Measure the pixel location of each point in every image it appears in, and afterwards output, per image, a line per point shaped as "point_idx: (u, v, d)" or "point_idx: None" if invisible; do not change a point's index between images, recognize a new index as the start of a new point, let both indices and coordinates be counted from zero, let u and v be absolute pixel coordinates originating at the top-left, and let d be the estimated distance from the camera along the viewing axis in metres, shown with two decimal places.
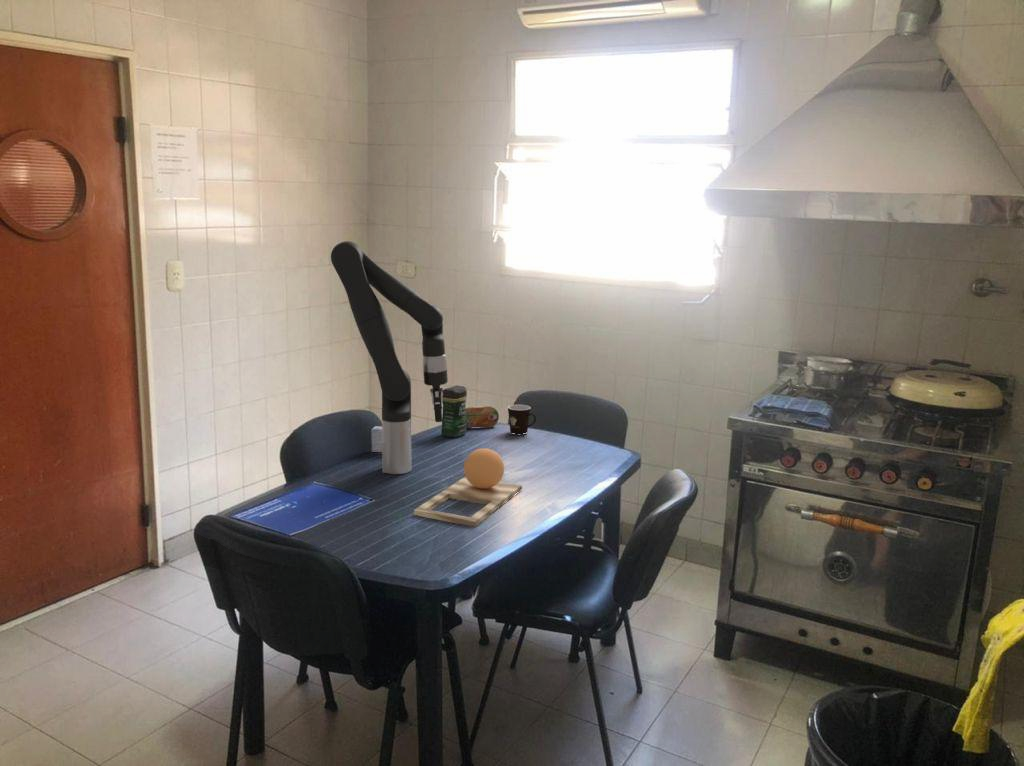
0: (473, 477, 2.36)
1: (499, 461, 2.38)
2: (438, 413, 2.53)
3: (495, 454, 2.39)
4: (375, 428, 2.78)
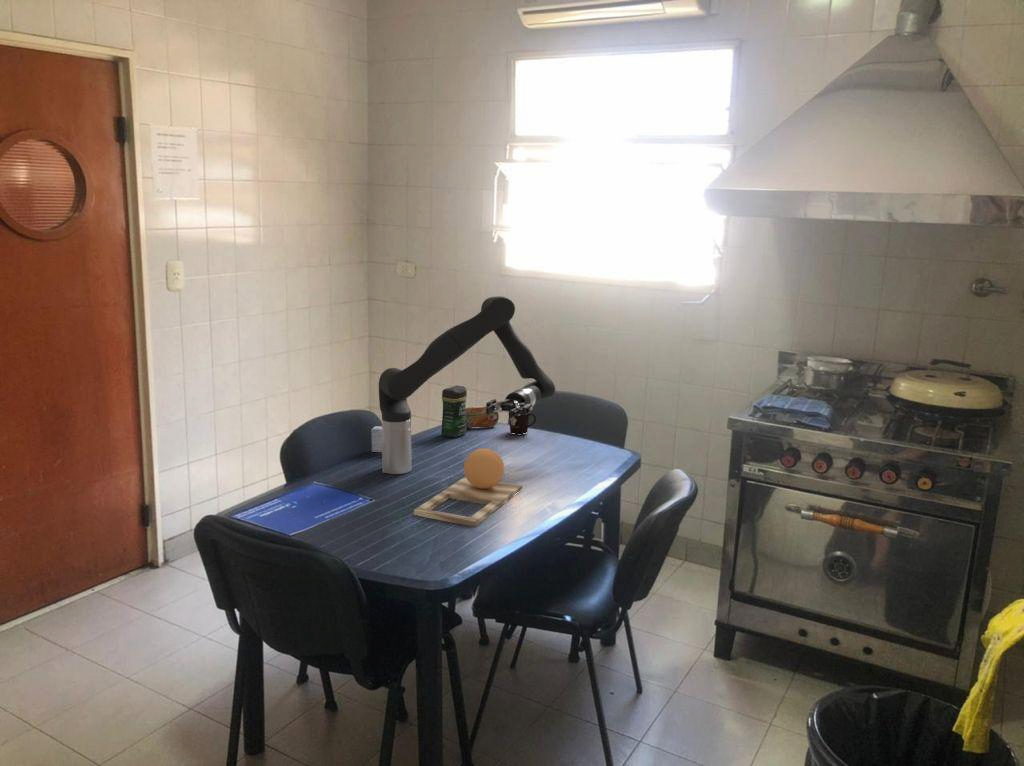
0: (473, 477, 2.36)
1: (499, 461, 2.38)
2: (517, 412, 2.48)
3: (495, 454, 2.39)
4: (375, 428, 2.78)
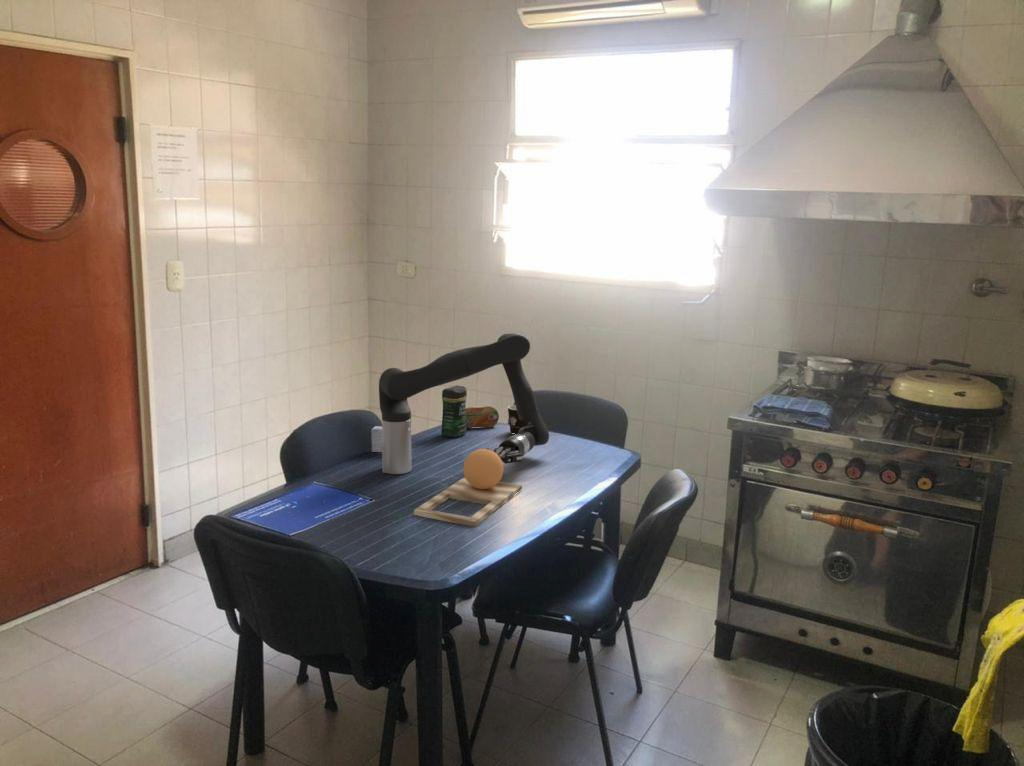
0: (473, 479, 2.36)
1: (498, 462, 2.37)
2: None
3: (494, 455, 2.38)
4: (375, 428, 2.78)
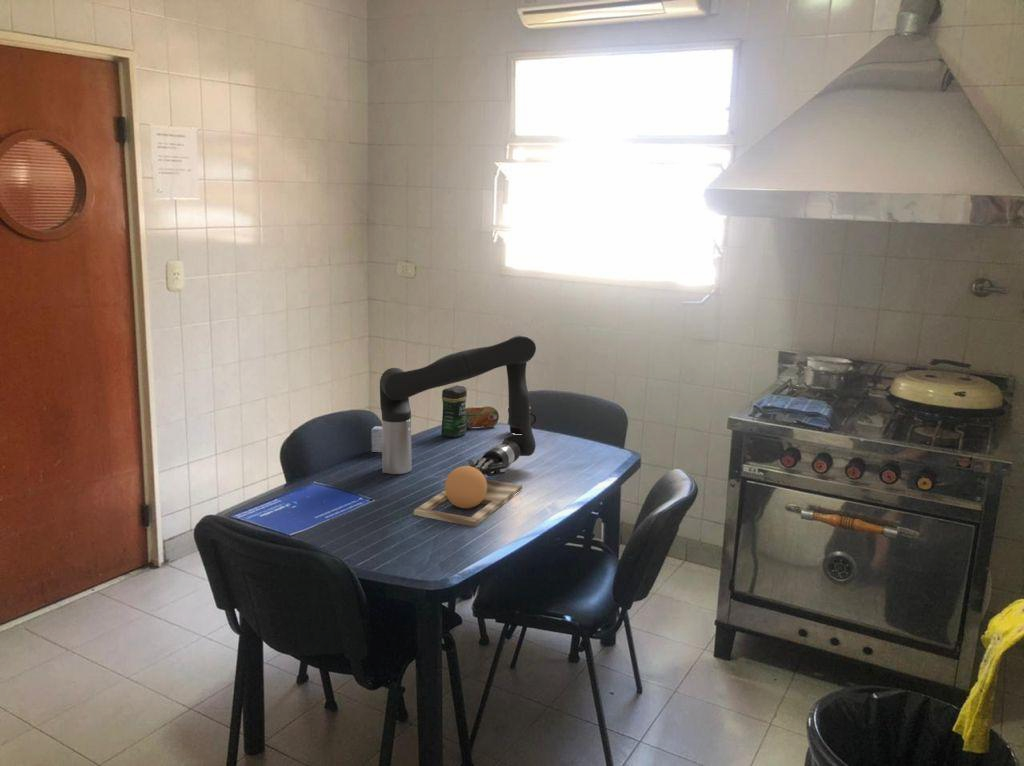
0: None
1: (479, 499, 2.26)
2: (482, 473, 2.37)
3: (471, 502, 2.25)
4: (375, 428, 2.78)
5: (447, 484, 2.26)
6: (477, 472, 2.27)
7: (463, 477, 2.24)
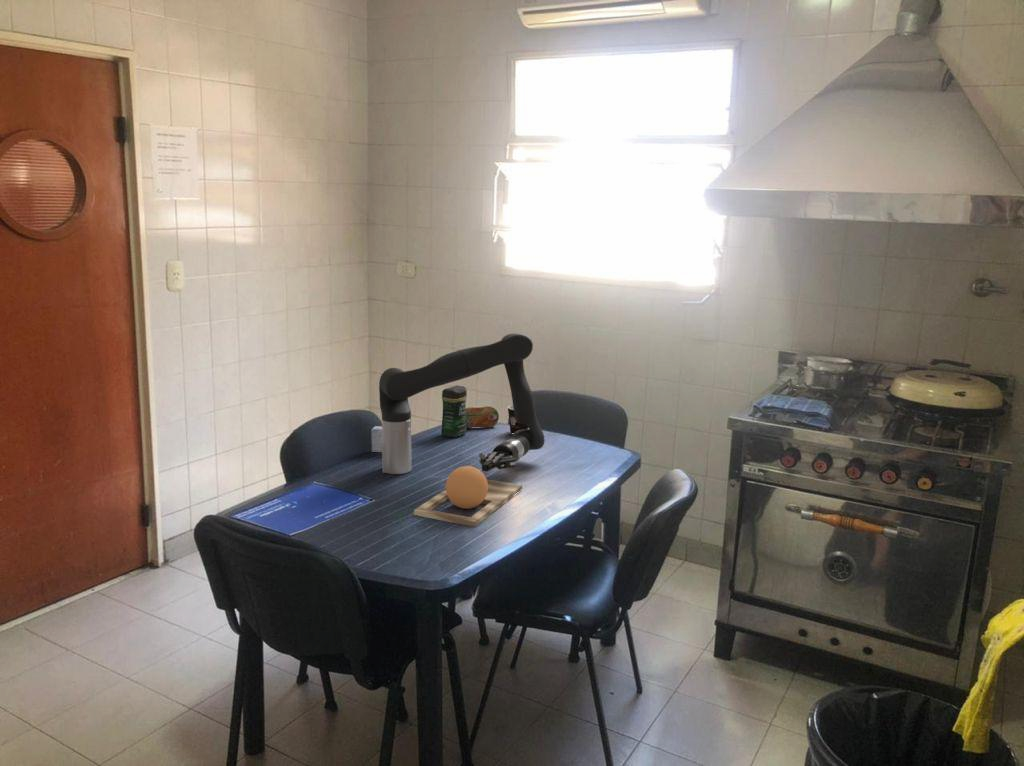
0: None
1: (479, 500, 2.26)
2: (492, 466, 2.43)
3: (471, 503, 2.25)
4: (375, 428, 2.78)
5: (448, 484, 2.26)
6: (478, 473, 2.27)
7: (463, 478, 2.24)
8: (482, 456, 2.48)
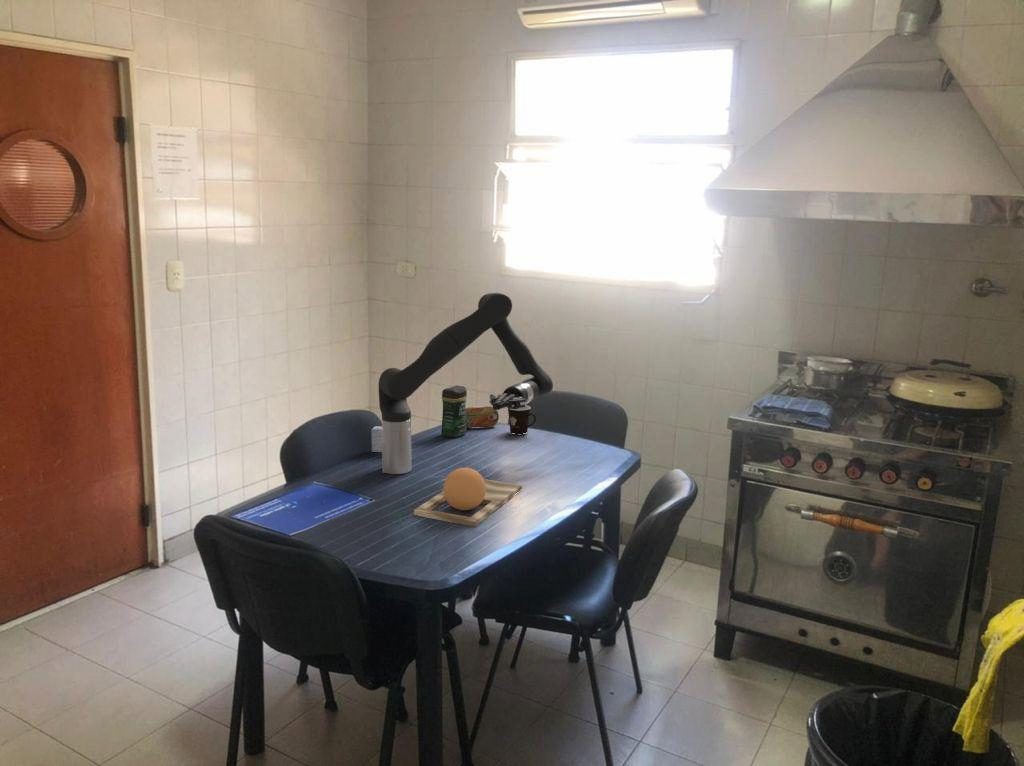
0: None
1: (478, 503, 2.25)
2: (503, 405, 2.48)
3: (470, 507, 2.24)
4: (375, 428, 2.78)
5: (445, 490, 2.25)
6: (475, 476, 2.24)
7: (460, 485, 2.22)
8: (493, 396, 2.54)
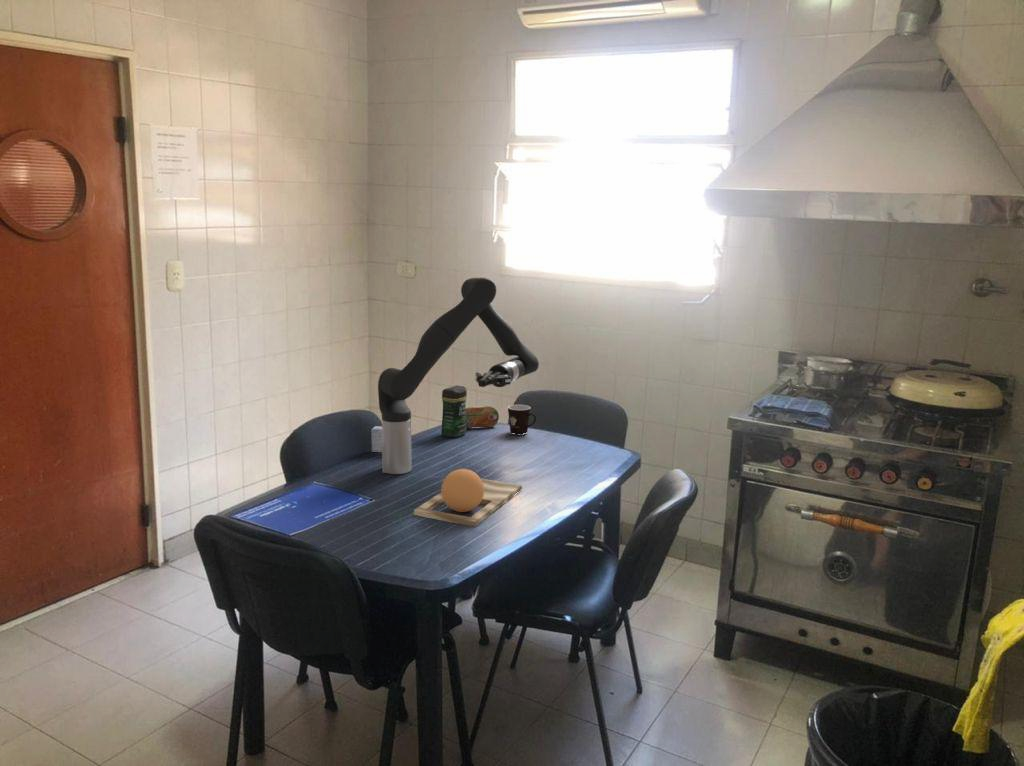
0: None
1: (477, 504, 2.24)
2: (488, 382, 2.53)
3: (469, 509, 2.24)
4: (375, 428, 2.78)
5: (443, 495, 2.23)
6: (471, 480, 2.22)
7: (457, 491, 2.21)
8: (478, 374, 2.58)
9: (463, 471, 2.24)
